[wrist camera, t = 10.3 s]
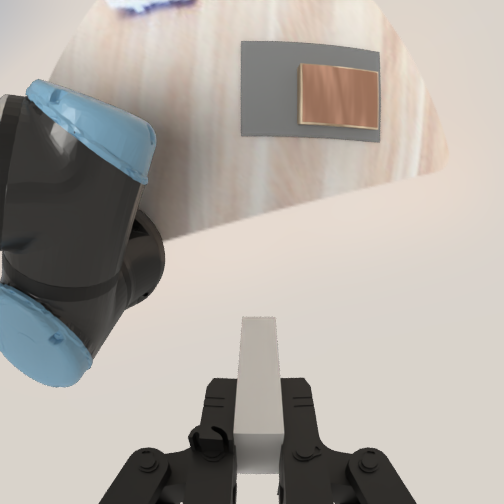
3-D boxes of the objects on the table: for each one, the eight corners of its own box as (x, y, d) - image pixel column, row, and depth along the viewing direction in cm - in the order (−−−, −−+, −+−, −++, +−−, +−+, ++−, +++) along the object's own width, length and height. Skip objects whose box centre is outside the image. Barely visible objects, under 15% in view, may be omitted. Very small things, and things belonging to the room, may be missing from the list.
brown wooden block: (301, 123, 32) (379, 129, 32) (300, 62, 29) (379, 71, 29) (297, 124, 35) (369, 129, 35) (297, 68, 32) (369, 75, 32)
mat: (241, 135, 36) (241, 136, 35) (241, 42, 32) (241, 41, 31) (378, 142, 36) (379, 142, 35) (377, 53, 31) (379, 52, 31)
